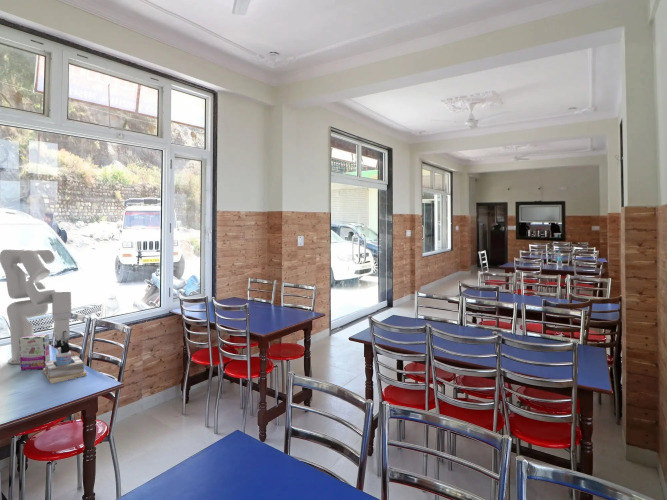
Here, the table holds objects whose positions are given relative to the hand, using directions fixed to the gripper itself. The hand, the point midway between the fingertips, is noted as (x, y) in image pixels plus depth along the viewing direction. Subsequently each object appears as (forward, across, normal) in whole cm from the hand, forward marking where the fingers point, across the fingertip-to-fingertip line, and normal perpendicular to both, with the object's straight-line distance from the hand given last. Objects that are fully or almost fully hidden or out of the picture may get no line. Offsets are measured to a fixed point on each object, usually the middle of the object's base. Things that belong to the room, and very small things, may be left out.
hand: (63, 350), depth 190 cm
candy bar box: (+12, -17, -9) cm, 23 cm away
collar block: (+12, +1, 0) cm, 12 cm away
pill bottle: (+10, 0, 0) cm, 10 cm away
